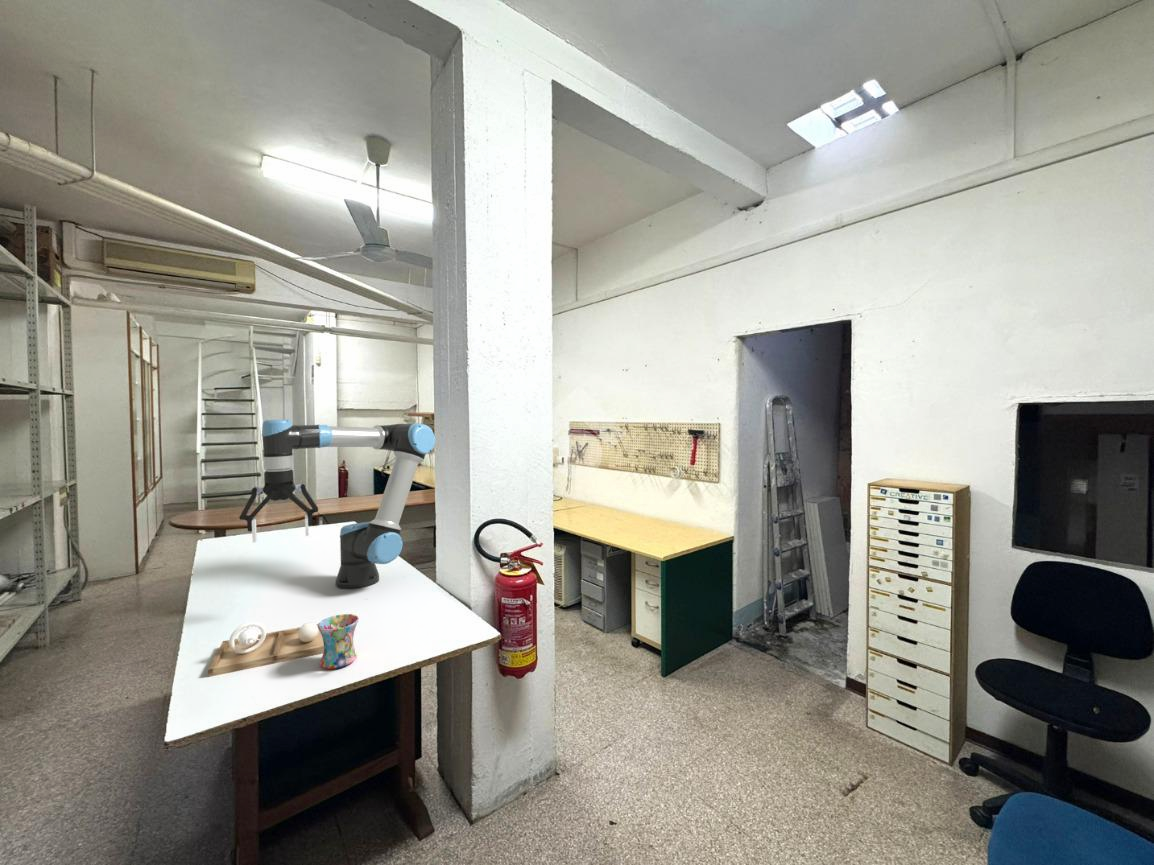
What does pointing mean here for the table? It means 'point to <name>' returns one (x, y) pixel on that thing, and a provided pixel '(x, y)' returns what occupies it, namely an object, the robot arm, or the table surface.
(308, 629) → the ceramic egg
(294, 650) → the divided wooden tray
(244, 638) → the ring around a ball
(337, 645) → the floral vase
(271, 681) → the table surface
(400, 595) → the table surface
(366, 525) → the robot arm
